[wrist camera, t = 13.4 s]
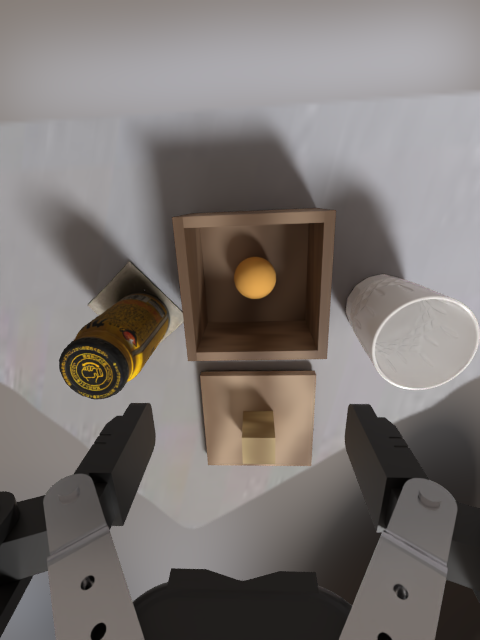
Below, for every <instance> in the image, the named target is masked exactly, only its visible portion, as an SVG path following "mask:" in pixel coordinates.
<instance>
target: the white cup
mask: <svg viewBox="0 0 480 640" xmlns="http://www.w3.org/2000/svg"><path fill="white" fill-rule="evenodd" d="M346 314H347V317H348V320H349V322H350V325H351V326H352V328H353V331H354V333H355V334H356V336H357V338H358V340H359V341H360V343H361V345H362V347H363V348H364V350H365V352H366V353H367V355H368V356H369V358H370V360H371V361H372V363H373V365H374V366H375V368H376V370H377V371H378V373H379V374H380V375H381V376H382V377H383V378H384V379H385V380H386V381H388V382H389V383H391V384H393V385H395V386H397V387H400V388H404V389H411V390H422V389H429V388H433V387H436V386H439V385H442V384H444V383H446V382H448V381H450V380H451V379H453V378H455V377H456V376H457V375H459V374H460V373H461V372H462V371H463V370H464V369H465V368H466V367H467V366H468V365H469V363H470V362H471V360H472V359H473V357H474V355H475V353H476V351H477V348H478V345H479V339H480V330H479V325H478V322H477V319H476V317H475V315H474V314H473V312H472V311H471V310H470V309H469V308H468V307H467V306H466V305H464V304H463V303H461V302H460V301H458V300H455V299H453V298H450V297H448V296H445V295H443V294H441V293H438V292H436V291H433V290H431V289H429V288H426V287H424V286H421V285H419V284H416V283H413V282H410V281H407V280H404V279H400V278H398V277H394V276H390V275H386V274H381V275H376V276H371V277H368V278H366V279H365V280H363V281H362V282H360V283H359V284H357V285H356V286H355V287H354V289H353V290H352V292H351V293H350V295H349V296H348V298H347V305H346Z"/></svg>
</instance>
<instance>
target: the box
mask: <svg viewBox="0 0 480 640" xmlns="http://www.w3.org/2000/svg"><path fill="white" fill-rule="evenodd" d="M335 219H336V210H328V209H320V208H305V209H282V210H259V211H235V212H212V213H192V214H186V215H181V216H176V217H172V222H173V231H174V240H175V249H176V258H177V266H178V275H179V284H180V293H181V302H182V311H183V320H184V329H185V338H186V347H187V356H188V361H220V360H287V359H327V349H328V332H329V316H330V300H331V284H332V268H333V252H334V236H335ZM250 257H261V258H263V259H266V260H267V261H268V262H270V264H271V265H272V266H273V268H274V270H275V273H276V283H275V286H274V288H273V290H272V291H271V292H270V293H269V294H268V295H267V296H265V297H263V298H260V299H250V298H247V297H245V296H243V295H242V294H241V293H240V292H239V291H238V290H237V288H236V286H235V282H234V274H235V270H236V268H237V267H238V265H239V264H240V263H241V262H242V261H243V260H245V259H247V258H250Z"/></svg>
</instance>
